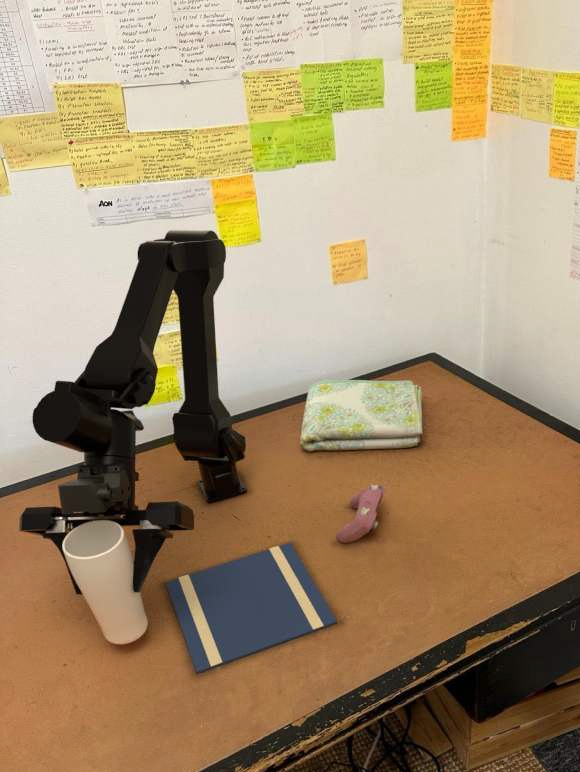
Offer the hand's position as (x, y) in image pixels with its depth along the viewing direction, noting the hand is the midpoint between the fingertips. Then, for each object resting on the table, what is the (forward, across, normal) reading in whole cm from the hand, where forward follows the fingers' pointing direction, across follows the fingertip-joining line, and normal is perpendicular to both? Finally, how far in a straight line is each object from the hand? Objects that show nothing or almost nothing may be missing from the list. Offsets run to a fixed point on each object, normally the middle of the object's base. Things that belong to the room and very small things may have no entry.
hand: (108, 593), depth 86 cm
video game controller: (-9, +28, +24) cm, 38 cm away
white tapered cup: (+4, 0, +6) cm, 8 cm away
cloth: (+1, +14, +12) cm, 18 cm away
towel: (-30, +28, +45) cm, 61 cm away
